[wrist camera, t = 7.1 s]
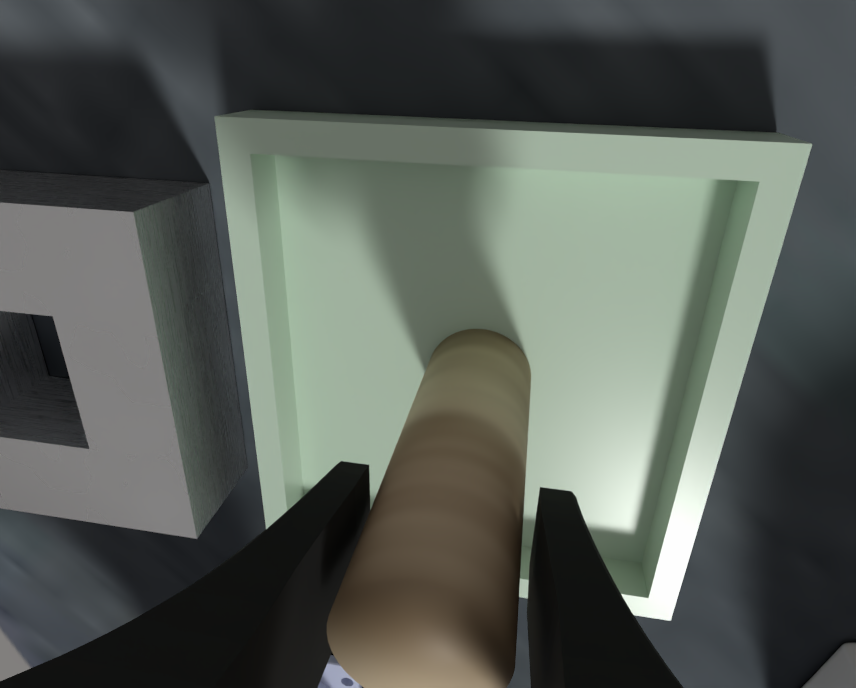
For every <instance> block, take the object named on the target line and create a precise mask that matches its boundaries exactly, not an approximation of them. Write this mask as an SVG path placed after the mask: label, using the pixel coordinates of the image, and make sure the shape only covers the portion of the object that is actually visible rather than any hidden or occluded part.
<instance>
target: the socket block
mask: <svg viewBox="0 0 856 688" xmlns="http://www.w3.org/2000/svg"><path fill="white" fill-rule="evenodd" d="M31 314H35V315H45V316H53V319H54V323H55V326H56V330H57V334H58V337H59V341H60V345H61V348H62V352H63V355H64V359H65V363H66V366H67V370H68V373H69V377H70V379H69V378H61V377H52V376H49V374H48V371H47V367H46V364H45V360H44V357H43V354H42V350H41V347H40V343H39V340H38V337H37V333H36V330H35V326H34V323H33V320H32V316H31ZM247 468H248V467H247V459H246V452H245V445H244V437H243V430H242V423H241V415H240V408H239V400H238V393H237V386H236V378H235V371H234V364H233V356H232V349H231V341H230V334H229V327H228V319H227V312H226V304H225V297H224V290H223V282H222V275H221V268H220V260H219V253H218V245H217V238H216V231H215V223H214V216H213V209H212V201H211V194H210V186H209V183H197V182H181V181H165V180H150V179H134V178H118V177H102V176H86V175H70V174H55V173H39V172H23V171H7V170H0V508H2V509H9V510H15V511H22V512H28V513H34V514H41V515H47V516H54V517H60V518H67V519H73V520H79V521H86V522H92V523H99V524H105V525H112V526H118V527H124V528H131V529H137V530H144V531H150V532H157V533H163V534H169V535H176V536H182V537H189V538H195V539H197V538H198V537H199V535H200V534H201V533H202V531H203V530H204V528H205V527H206V526H207V524H208V523H209V521H210V520H211V519H212V517H213V516H214V514H215V513H216V512H217V510H218V509H219V507H220V506H221V505H222V503H223V502H224V500H225V499H226V498H227V496H228V495H229V493H230V492H231V491H232V489H233V488H234V486H235V485H236V484H237V482H238V481H239V479H240V478H241V477H242V475H243V474H244V472H245V471H246V470H247Z"/></svg>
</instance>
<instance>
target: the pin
mask: <svg viewBox="0 0 856 688" xmlns="http://www.w3.org/2000/svg"><path fill="white" fill-rule="evenodd" d="M530 391H531V369H530V365H529V362H528V360H527V358H526V356H525V354H524V353H523V351H522V350H521V349H520V348H519V346H518V345H516V344H515V343H514V342H513V341H512V340H510V339H509V338H507V337H506V336H504V335H502V334H500V333H497V332H494V331H491V330H486V329H467V330H463V331H459V332H456V333H454V334H452V335H450V336H449V337H447V338H446V339H444V340H443V341H442V342H441V343H440V344H439V345H438V346H437V347H436V349H435V350H434V352H433V354H432V356H431V358H430V361H429V363H428V366H427V368H426V371H425V373H424V376H423V379H422V381H421V384H420V386H419V389H418V391H417V394H416V396H415V399H414V401H413V404H412V406H411V409H410V411H409V414H408V416H407V419H406V422H405V424H404V427H403V429H402V432H401V434H400V437H399V439H398V442H397V444H396V447H395V449H394V452H393V454H392V457H391V459H390V462H389V465H388V467H387V470H386V472H385V475H384V477H383V480H382V482H381V485H380V487H379V490H378V492H377V495H376V497H375V500H374V502H373V505H372V508H371V510H370V513H369V515H368V518H367V520H366V523H365V525H364V528H363V530H362V533H361V535H360V538H359V540H358V543H357V546H356V548H355V551H354V553H353V556H352V558H351V561H350V563H349V566H348V568H347V571H346V573H345V576H344V578H343V581H342V583H341V586H340V589H339V591H338V594H337V596H336V599H335V601H334V604H333V606H332V609H331V611H330V614H329V616H328V621H327V638H328V642H329V645H330V648H331V651H332V653H333V655H334V657H335V658H336V660H337V661H338V663H339V664H340V666H341V667H342V668H343V669H344V670H345V671H346V673H347V674H348V675H349V676H351V677H352V678H353V679H354V680H355V681H356V682H357V683H359V684H360V685H361V686H363V687H364V688H506V687H507V686H508V684H509V683H510V681H511V678H512V676H513V673H514V669H515V657H516V639H517V621H518V604H519V586H520V568H521V550H522V533H523V515H524V497H525V479H526V462H527V444H528V426H529V408H530Z"/></svg>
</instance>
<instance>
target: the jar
mask: <svg viewBox="0 0 856 688" xmlns="http://www.w3.org/2000/svg"><path fill="white" fill-rule="evenodd" d="M802 688H856V643H845V644H843V645H842V646H841V647H840V648H839V649H838V650H837V651H836V652H835V653H834V654H833V655H832V656H831V657H830V658H829V659H828V660H827V661H826V662H825V663H824V664H823V666H822V667H821V668H820V669H819V670H818V671H817V672H816V673H815V674H814V675H813V676H812V677H811V678H810V679H809V680H808V681H807V682H806V683H805V685H804V686H803V687H802Z"/></svg>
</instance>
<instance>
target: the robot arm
mask: <svg viewBox="0 0 856 688" xmlns="http://www.w3.org/2000/svg"><path fill="white" fill-rule="evenodd" d="M369 513H370V473H369V465H367V464H359V463H352V462H344V461H341V462H339V463H338V464H337V465H335V466H334V467H333V468H332V469H331V470H330V471H329V472H328V473H327V474H326V475H325V476H324V477H323V478H322V479H321V480H320V481H319V482H318V483H317V484H316V485H315V486H314V487H313V488H312V489H310V490H309V491H308V492H307V493H306V494H305V495H304V496H303V497H302V498H301V499H300V500H299V501H298V502H297V503H295V504H294V505H293V506H292V507H291V508H290V509H289V510H288V511H286V512H285V513H284V514H283V515H282V516H281V517H280V518H279V519H277V520H276V521H275V522H274V523H273V524H272V525H271V526H269V527H268V528H267V529H266V530H265V531H263V532H262V533H261V534H260V535H258V536H257V537H256V538H255V539H253V540H252V541H251V542H250V543H248V544H247V545H246V546H245V547H244V548H242V549H241V550H240V551H239V552H237V553H236V554H235V555H233V556H232V557H231V558H229V559H228V560H227V561H225V562H224V563H223V564H221V565H220V566H218V567H217V568H216V569H214V570H213V571H211V572H210V573H209V574H207V575H206V576H204V577H203V578H201V579H200V580H198V581H197V582H195V583H194V584H192V585H191V586H189V587H188V588H186V589H185V590H183V591H181V592H180V593H178V594H176V595H175V596H173V597H171V598H170V599H168V600H166V601H164V602H163V603H161V604H159V605H158V606H156V607H154V608H153V609H151V610H149V611H147V612H146V613H144V614H142V615H141V616H139V617H137V618H135V619H134V620H132V621H130V622H128V623H126V624H124V625H122V626H120V627H118V628H117V629H115V630H113V631H111V632H109V633H107V634H105V635H103V636H101V637H99V638H97V639H95V640H93V641H91V642H89V643H87V644H85V645H83V646H80V647H78V648H76V649H74V650H72V651H70V652H68V653H66V654H63V655H61V656H59V657H57V658H54V659H52V660H50V661H47V662H45V663H43V664H40V665H38V666H36V667H33V668H31V669H29V670H27V671H24V672H22V673H20V674H17V675H15V676H12V677H10V678H7V679H5V680H3V681H0V688H362V686H361V685H360V684H359V683H357V682H356V681H355V680H354V679H353V678H352V677H351V676H349V675H348V674H347V673H346V671H345V670H344V669H343V668H342V667H341V666H340V664H339V663H338V661H337V660H336V658H335V657H334V655H331V653H332V651H331V648H330V645H329V642H328V638H327V621H328V616H329V614H330V611H331V609H332V606H333V604H334V601H335V599H336V596H337V594H338V591H339V589H340V586H341V583H342V581H343V578H344V576H345V573H346V571H347V568H348V566H349V563H350V561H351V558H352V556H353V553H354V551H355V548H356V546H357V543H358V540H359V538H360V535H361V533H362V530H363V528H364V525H365V523H366V520H367V518H368V515H369ZM527 620H528V640H529V658H530V676H531V688H683V687H682V685H681V684H680V683H679V681H678V680H677V678H676V677H675V676H674V674H673V673H672V672H671V670H670V669H669V668H668V666H667V665H666V663H665V662H664V661H663V659H662V658H661V656H660V655H659V653H658V652H657V651H656V649H655V648H654V646H653V645H652V643H651V642H650V640H649V639H648V637H647V636H646V634H645V633H644V631H643V630H642V628H641V626H640V625H639V623H638V622H637V620H636V618H635V617H634V615H633V613H632V612H631V610H630V608H629V607H628V605H627V603H626V602H625V600H624V598H623V597H622V595H621V593H620V591H619V589H618V588H617V586H616V584H615V582H614V580H613V579H612V577H611V575H610V573H609V571H608V569H607V567H606V565H605V563H604V561H603V559H602V557H601V555H600V553H599V551H598V549H597V547H596V545H595V543H594V541H593V539H592V536H591V534H590V532H589V530H588V527H587V525H586V523H585V520H584V518H583V515H582V513H581V510H580V507H579V504H578V501H577V498H576V496H575V495H574V494H573V493H572V491H566V490H559V489H551V488H543V487H540V490H539V498H538V505H537V512H536V519H535V527H534V534H533V541H532V549H531V556H530V563H529V583H528V604H527Z"/></svg>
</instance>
